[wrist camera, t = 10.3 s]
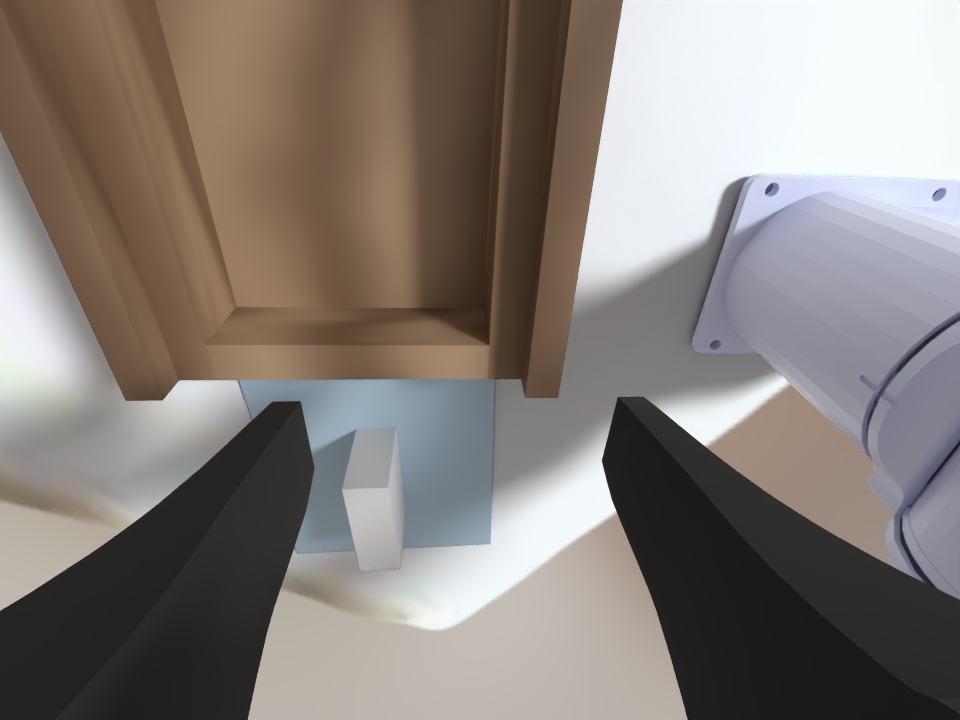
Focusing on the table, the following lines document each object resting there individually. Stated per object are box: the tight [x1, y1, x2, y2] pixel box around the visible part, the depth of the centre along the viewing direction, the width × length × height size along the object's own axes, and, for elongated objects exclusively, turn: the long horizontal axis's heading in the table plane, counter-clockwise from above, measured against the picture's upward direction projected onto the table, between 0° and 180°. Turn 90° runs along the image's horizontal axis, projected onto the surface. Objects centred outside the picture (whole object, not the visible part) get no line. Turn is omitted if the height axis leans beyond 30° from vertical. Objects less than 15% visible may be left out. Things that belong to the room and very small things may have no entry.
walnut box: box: [0, 0, 623, 401], centre depth 14 cm, size 15×16×5 cm
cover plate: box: [239, 379, 495, 571], centre depth 24 cm, size 12×14×5 cm
